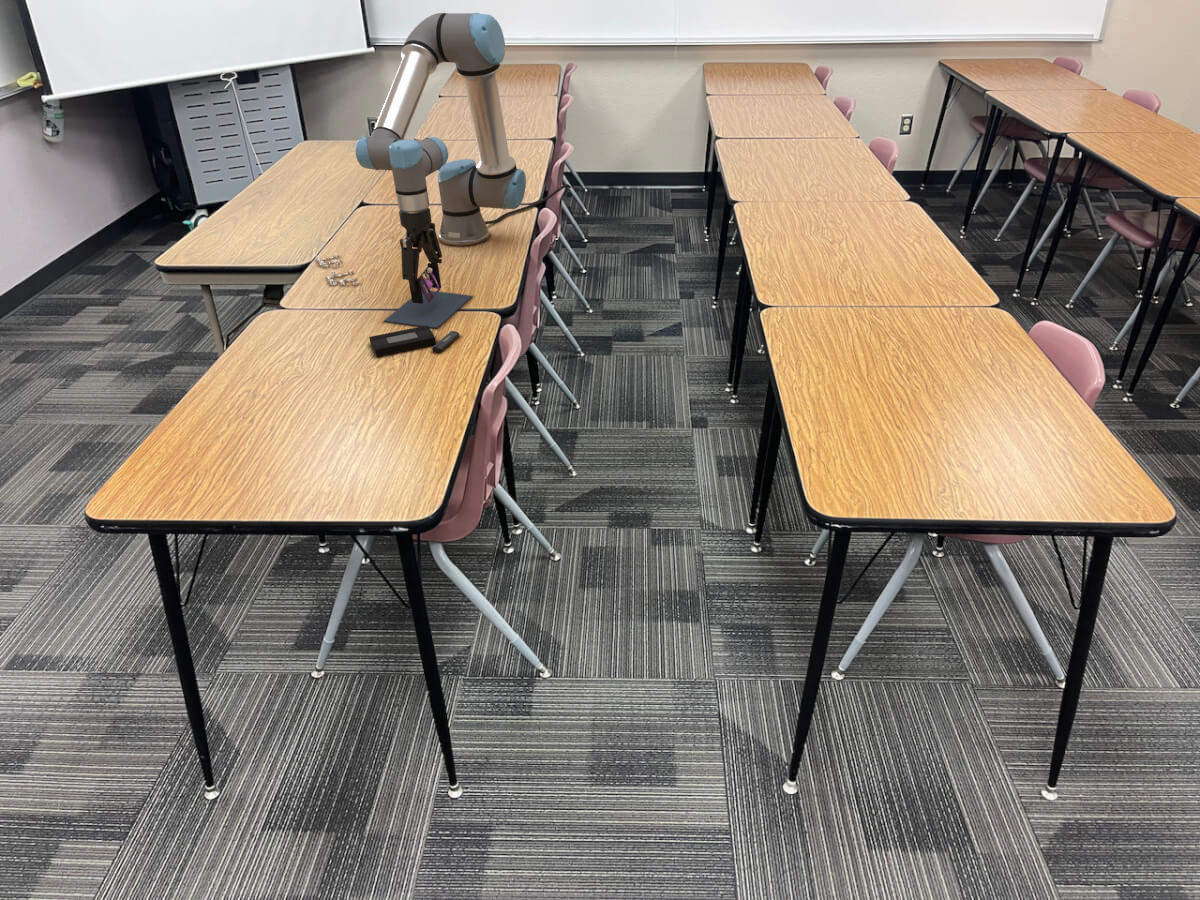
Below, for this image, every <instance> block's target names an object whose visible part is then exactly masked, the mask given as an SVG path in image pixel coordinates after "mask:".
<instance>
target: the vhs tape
mask: <svg viewBox="0 0 1200 900" xmlns="http://www.w3.org/2000/svg"><path fill="white" fill-rule="evenodd" d="M368 339H369V343H370V346H371V348H372V350H373V352H374V354H375V357H376V358H379V357H384V356H390V355H395V354H398V353H403V352H407V351H412V350H417V349H422V348H427V347H433V346H434V345H435V344H437V340H436V336H435V335H434V333H433V332H432V330H431V328H429V327H428V325H426V326H421V327H419V326H415V327H412V328H406V329H400V330H397V331H392V332H387V333H382V334H377V335H372V336H369V337H368Z"/></svg>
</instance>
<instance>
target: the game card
mask: <svg viewBox="0 0 1200 900" xmlns="http://www.w3.org/2000/svg"><path fill="white" fill-rule="evenodd" d="M429 273H430V274H431V276H432V277H433V279H434V281H435V283H436V285H437V288H436V291H435V294H434V295H432V293H431V291H432V290H431V289H432V288H431V287H432V285H433V284H432V280H430V279H429ZM417 278H420V284H421V291H422V294H424V295H425V297H426V299H427V301H428V303H431V301H432V300H433V299H434V297H435V296H436V295H437V293H438V292H441V291H440V290H441V288H440V287H439V285H438V283H437V281H436V279H435V277H434V275H433V273H432V268H430V267H429V266H428V265H427V266H426V268H425V269H424V270H423V271H422V272H421V274H419V276H417Z"/></svg>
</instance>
